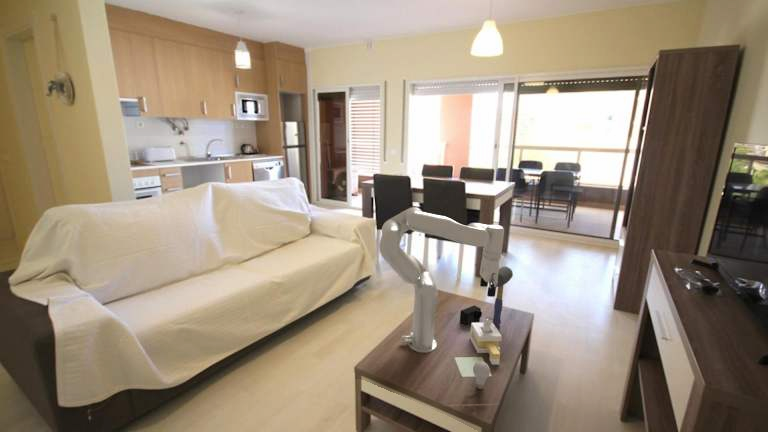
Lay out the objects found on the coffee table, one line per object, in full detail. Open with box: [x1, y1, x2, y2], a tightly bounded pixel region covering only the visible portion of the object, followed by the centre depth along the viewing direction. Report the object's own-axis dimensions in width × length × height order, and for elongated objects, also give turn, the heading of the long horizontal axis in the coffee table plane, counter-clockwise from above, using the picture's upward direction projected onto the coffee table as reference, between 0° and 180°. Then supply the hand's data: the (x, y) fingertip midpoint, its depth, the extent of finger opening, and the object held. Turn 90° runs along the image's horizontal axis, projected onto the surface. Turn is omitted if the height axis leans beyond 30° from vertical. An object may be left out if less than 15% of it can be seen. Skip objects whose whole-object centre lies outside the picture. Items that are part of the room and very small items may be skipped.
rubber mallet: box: [491, 266, 514, 327], centre depth 173 cm, size 12×8×30 cm, turn 141°
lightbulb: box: [473, 361, 491, 390], centre depth 132 cm, size 6×6×11 cm
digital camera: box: [459, 305, 483, 327], centre depth 178 cm, size 10×5×7 cm, turn 126°
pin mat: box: [454, 356, 492, 378], centre depth 145 cm, size 12×12×1 cm
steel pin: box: [481, 315, 493, 333], centre depth 157 cm, size 4×4×14 cm
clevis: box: [469, 322, 503, 366], centre depth 154 cm, size 10×19×8 cm, turn 3°
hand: (487, 291), depth 153 cm, fingers open, 9 cm apart
